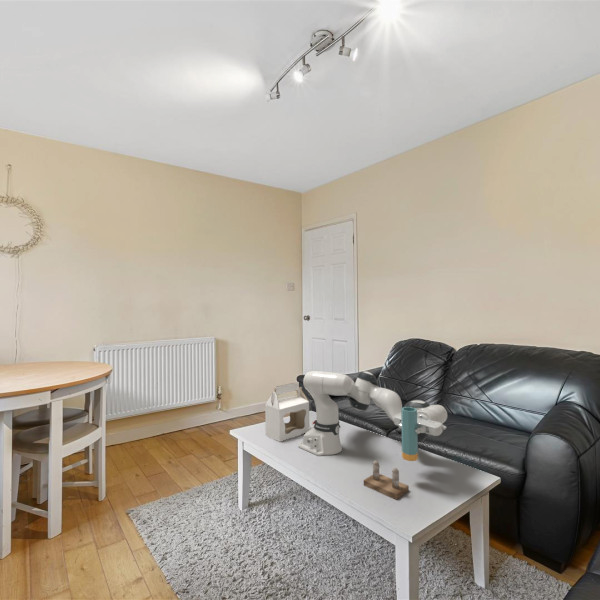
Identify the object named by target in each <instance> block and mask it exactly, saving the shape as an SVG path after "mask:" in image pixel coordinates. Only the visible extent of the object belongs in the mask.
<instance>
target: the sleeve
mask: <svg viewBox="0 0 600 600" xmlns="http://www.w3.org/2000/svg"><path fill="white" fill-rule="evenodd" d="M401 423H402V431H401V457H402V460H405V461H408V462H416V461H417V460H419V457H418V456H419V454H418V453H419V451H418V450H419V445H418V444H419V442H418V437H417V433H415V428H417V409H416V408H412V407H405V406H402V408H401Z"/></svg>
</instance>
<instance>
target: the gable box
mask: <svg viewBox="0 0 600 600" xmlns="http://www.w3.org/2000/svg"><path fill="white" fill-rule="evenodd" d="M273 390H274V391H273V392H272V393H271V395H270V397H269V398H268V399H267V402H265V405H264V408H265V413H264V414H265V415H264V416H265V417H264V418H265V422H264V423H265V436H266V435H267V436H266V437H268V436H269V437H268V438H270V437H271V439H273V440H275V441H277V442H279V443H281V442H284V441H287V440H290V439H292V437H293V438H296V437H298V435H299V436H302V435H305V434H304V433H306V432H308V431H309V430H310V400H309V399H308V397H307V396H306V394H305V392H304V390H303V387H302V386H300V385H299V382H298V381H297V382H292V383H288V384H282V385H277V386H275V387H274V388H273ZM290 392H291V393H292V392H295V394H294V397H290V398H286V399H282V400H281V399H280V400H279V398H278V395H282V394H285V393H286V394H287V393H290ZM287 414H289V422H285V420H284V417H285V416H286V415H287ZM301 434H302V435H301ZM295 436H296V437H295ZM289 438H290V439H289ZM286 439H287V440H286ZM283 440H284V441H283Z"/></svg>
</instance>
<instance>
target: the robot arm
mask: <svg viewBox="0 0 600 600" xmlns="http://www.w3.org/2000/svg"><path fill="white" fill-rule="evenodd" d="M302 381H303V382H302V383H303V387H304V388H305V390H306V391H307V392H308V393H309V394H310V395H311V397H312V399H313V402H314V405H315V410H316V419H315V420H314V421H312V423H311V425H313V427H312V428H309V431H308V432H306V433H305V434H303V440H302V441H300V442H299V444H298V448H300V449H301V450H305V451H307V452H309V453H311V454H314V455H316V456H319V457H320V456H325V455H326V456H331V455H332V456H333V455H336V454H340V453H341V452H342V451H343V447H342V443H341V438H340V428H341V427H340V428H339V425H340V420H339V407H338V403H336V402H335V401H334V400H333V399H332V398H331V397H330V396H337V397H338V396H348V397H347V400H348V402H349V404H350V406H351V407H352V408H353V409H354V410H356V411H359V412H360V411H362V412H363V411H364V412H365V411H367V410H368V409H369V406H370V403H371V400H372V401H373V403H374V404H375V405H376V406H377V407H378V408H380V409H381V410H383V411H384V412H385V413H386V415H387V417H388V418H389V420H390V421H391V422H392V424H394V425H395V426H396V427H397V428H398V429H399V430H400V431H401V432H402V423H401V408H403V404H402V400H401V399H402V398H401V397H400V395H399V394H398V393H397V392H395V391H393V390H391V389H389V388H385V387H380V386H378V384H379V382H378V380H377V377H376V376H375V375H374V374H373V373H371V372H370V371H360V372H358V374H357V378H356V380H355V381H354V380H353V379H352V378H351V377H350V376H349V375H347V374H344V373H341V372H333V371H332V372H331V371H322V370H321V371H320V370H312V371H311V370H310V371H307V372H306V373H305V375H304V377H303V380H302ZM404 407H412V408H416V409H417V428H415V433H417V437H418V443H423V442H424V441H425V440H426V439H427V438H428V436H429V435H430V436H434V437H438V436H441V434H442V433H443V432H444V431H445V430H447V426H446V425H444V423H445V422H446V421H447V419H448V412H447V410H446V408H445V407H444V406H443V405H442V404H441V405H440V404H429V403H428V402H427V401H425V400H422V399H412V400H409V401H407V402H406V403H405V404H404Z"/></svg>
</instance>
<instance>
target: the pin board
mask: <svg viewBox="0 0 600 600" xmlns="http://www.w3.org/2000/svg"><path fill="white" fill-rule="evenodd" d="M363 486H364V487H367V488H369V489H372V490H373V491H376V492H379V493H380V494H382V495H385V496H387V497H389V498H391V499H394V500H395V501H396V500H398V499H399V498H401V497H402V496H404V495H405V494H406V493H408V492H409V485H408V484H405V483H403V482H401V481H400V471H399V469H398V468H397V467H393V468H392V469H391V477H388V476H386V475H383V474H381V473H380V463H379V461H378V460H374V461H372V475H370V476H368V477H366V478H365V479H363Z"/></svg>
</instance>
